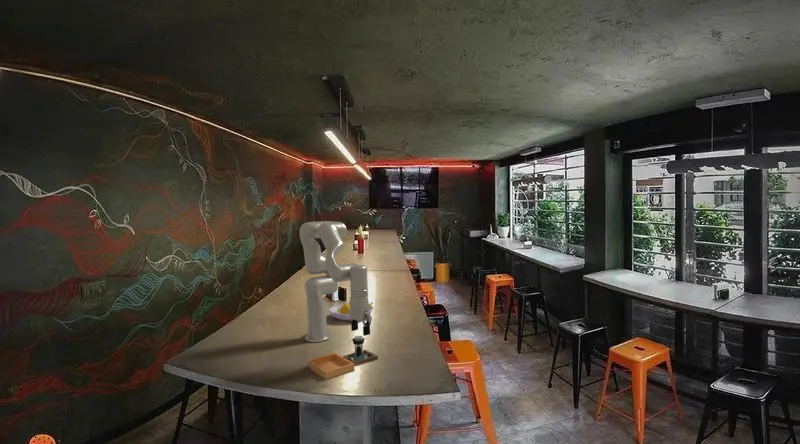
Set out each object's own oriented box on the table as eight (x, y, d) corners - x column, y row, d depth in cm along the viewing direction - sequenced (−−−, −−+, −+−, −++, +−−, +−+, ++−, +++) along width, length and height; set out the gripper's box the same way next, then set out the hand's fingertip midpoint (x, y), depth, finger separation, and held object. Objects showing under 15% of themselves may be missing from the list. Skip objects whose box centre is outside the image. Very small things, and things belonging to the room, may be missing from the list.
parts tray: (308, 367, 164) (307, 360, 164) (335, 359, 172) (335, 352, 172) (325, 380, 152) (325, 372, 152) (354, 371, 160) (354, 363, 160)
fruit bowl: (321, 318, 238) (320, 299, 238) (357, 309, 256) (357, 292, 256) (346, 328, 217) (346, 308, 217) (384, 318, 235) (384, 299, 235)
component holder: (342, 359, 172) (342, 356, 172) (365, 352, 180) (365, 349, 180) (354, 366, 165) (354, 362, 164) (377, 359, 172) (377, 355, 172)
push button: (366, 356, 176) (365, 334, 175) (369, 360, 171) (368, 337, 170) (351, 358, 174) (351, 336, 173) (354, 362, 168) (353, 339, 168)
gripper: (341, 292, 175) (343, 330, 176) (362, 297, 162) (364, 338, 162) (356, 289, 180) (357, 326, 180) (377, 295, 166) (378, 335, 167)
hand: (360, 332), depth 171 cm, fingers open, 9 cm apart
